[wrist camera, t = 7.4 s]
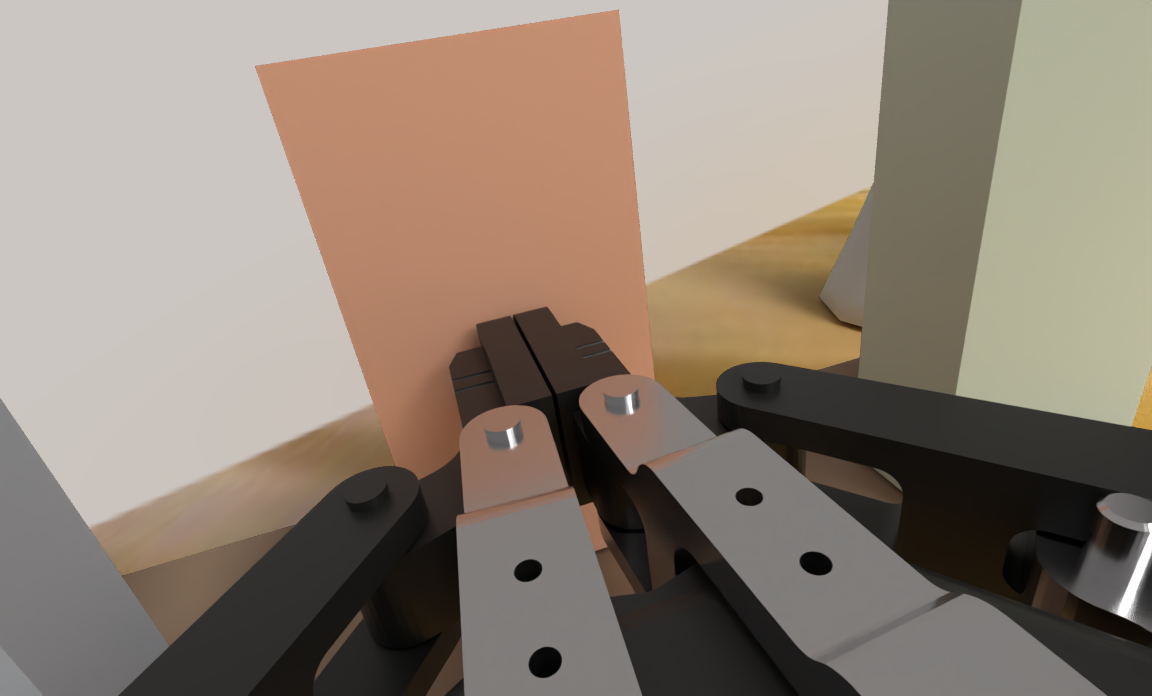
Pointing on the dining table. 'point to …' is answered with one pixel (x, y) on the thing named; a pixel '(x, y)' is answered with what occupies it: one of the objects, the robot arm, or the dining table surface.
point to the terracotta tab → (467, 204)
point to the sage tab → (1014, 205)
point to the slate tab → (60, 590)
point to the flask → (851, 271)
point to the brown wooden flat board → (204, 577)
